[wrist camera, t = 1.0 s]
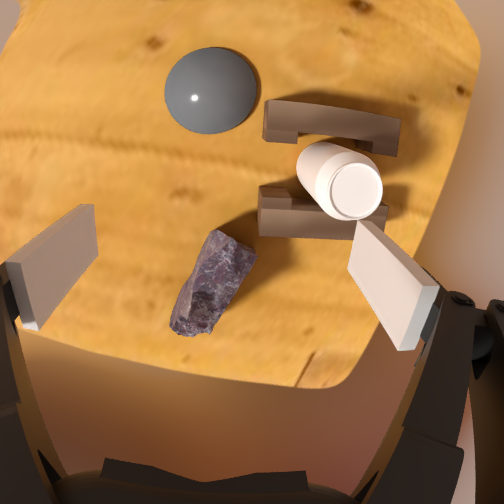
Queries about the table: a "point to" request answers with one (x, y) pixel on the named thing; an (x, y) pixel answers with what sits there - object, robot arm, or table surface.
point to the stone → (211, 284)
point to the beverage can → (340, 180)
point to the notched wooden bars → (324, 123)
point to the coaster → (210, 90)
